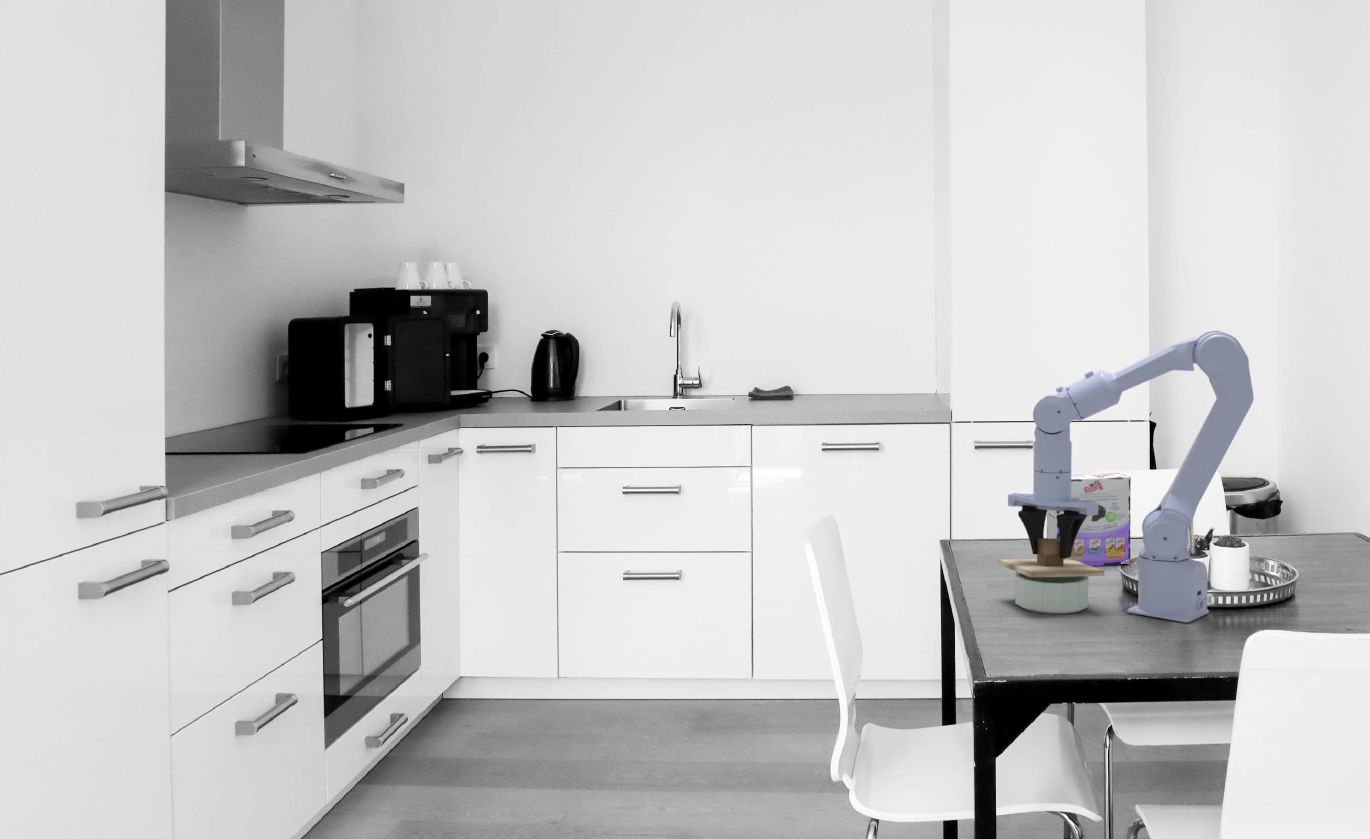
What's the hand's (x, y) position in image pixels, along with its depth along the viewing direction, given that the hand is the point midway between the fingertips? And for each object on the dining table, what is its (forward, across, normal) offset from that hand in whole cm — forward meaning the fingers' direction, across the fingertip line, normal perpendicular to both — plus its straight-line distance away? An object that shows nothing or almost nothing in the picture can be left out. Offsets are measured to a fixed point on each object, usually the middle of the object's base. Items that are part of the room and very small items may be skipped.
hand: (1051, 555), depth 186 cm
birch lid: (+2, 0, 0) cm, 2 cm away
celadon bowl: (+8, 0, 0) cm, 8 cm away
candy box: (+8, +10, -32) cm, 35 cm away
